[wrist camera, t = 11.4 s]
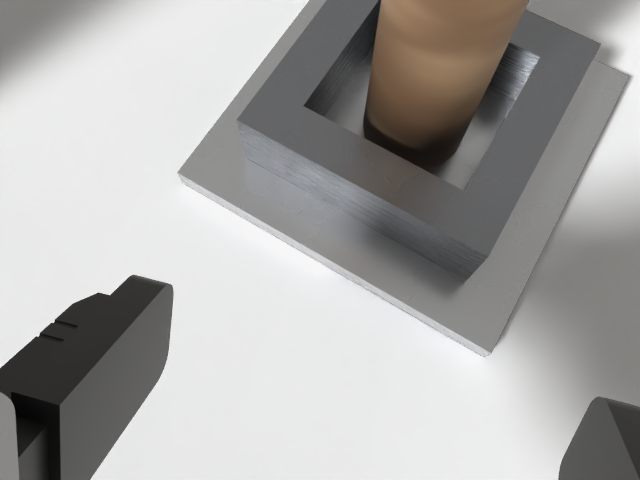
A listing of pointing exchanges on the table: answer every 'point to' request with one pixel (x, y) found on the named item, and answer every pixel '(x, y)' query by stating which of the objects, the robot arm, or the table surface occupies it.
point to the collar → (410, 167)
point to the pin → (433, 72)
